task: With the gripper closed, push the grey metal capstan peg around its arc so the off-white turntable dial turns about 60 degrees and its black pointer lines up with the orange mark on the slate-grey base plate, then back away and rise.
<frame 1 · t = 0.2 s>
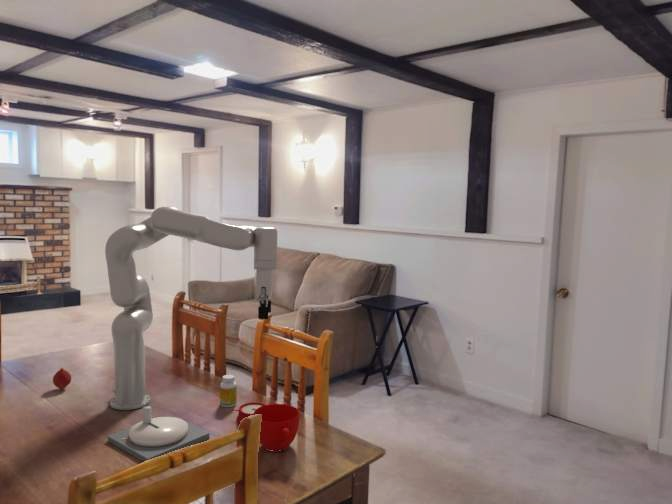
hand: (264, 315, 175), 31 cm above the table, tool pointing down, fingers open, 9 cm apart
base plate: (159, 439, 151), on the table
ceramic cup: (278, 450, 147), on the table
supplement bottle: (228, 405, 178), on the table
turntable: (159, 423, 151), point 5 cm above the table, hinge at 0.0°
alarm clock: (256, 422, 165), on the table
onion: (62, 389, 187), on the table
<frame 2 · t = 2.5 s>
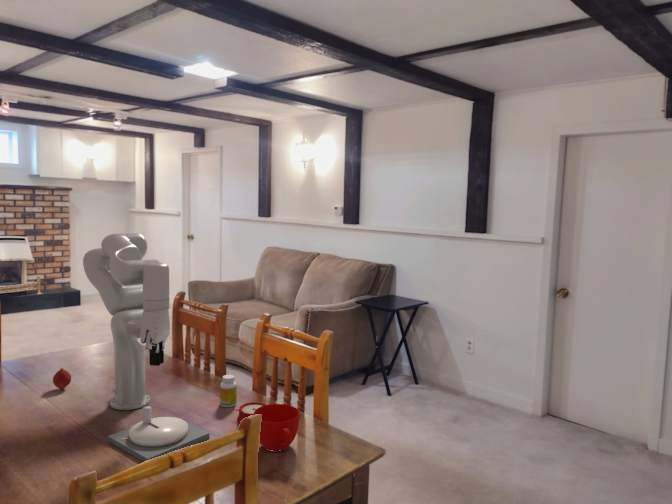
hand: (156, 363, 159), 19 cm above the table, tool pointing down, fingers closed
nothing on the table moved.
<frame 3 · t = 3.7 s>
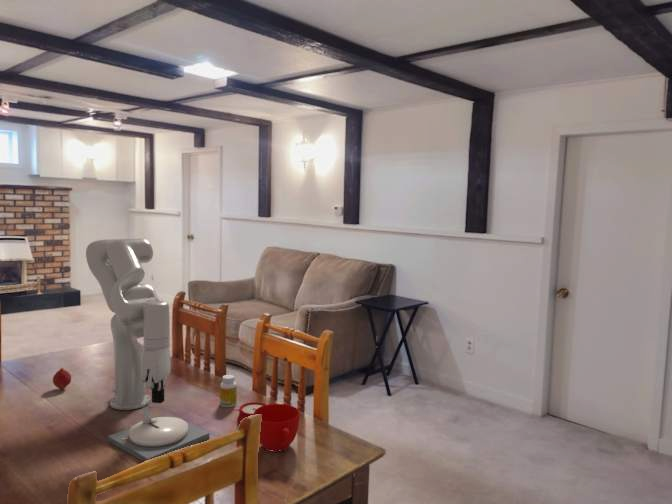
hand: (158, 401, 160), 7 cm above the table, tool pointing down, fingers closed
nothing on the table moved.
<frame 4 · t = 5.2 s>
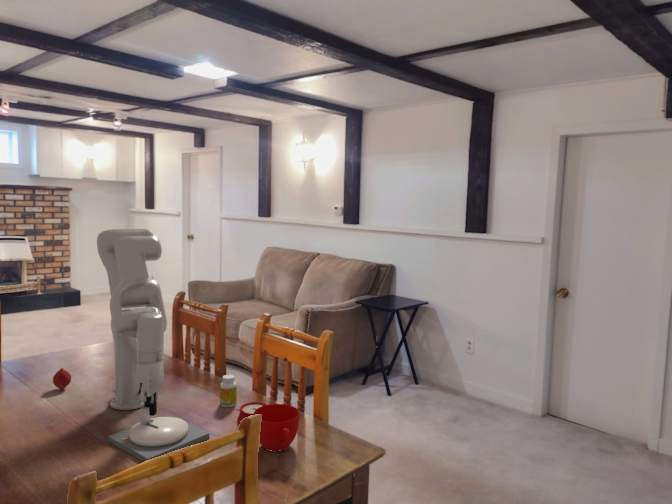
hand: (150, 414, 158), 5 cm above the table, tool pointing down, fingers closed
turntable: (159, 423, 151), point 5 cm above the table, hinge at 6.9°, touching gripper
everything else where it was.
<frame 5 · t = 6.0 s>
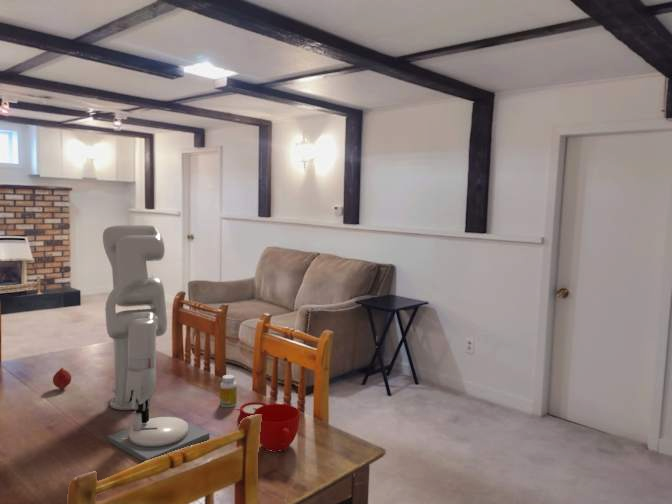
hand: (142, 421, 154), 4 cm above the table, tool pointing down, fingers closed
turntable: (159, 423, 151), point 5 cm above the table, hinge at 47.8°, touching gripper
everything else where it was.
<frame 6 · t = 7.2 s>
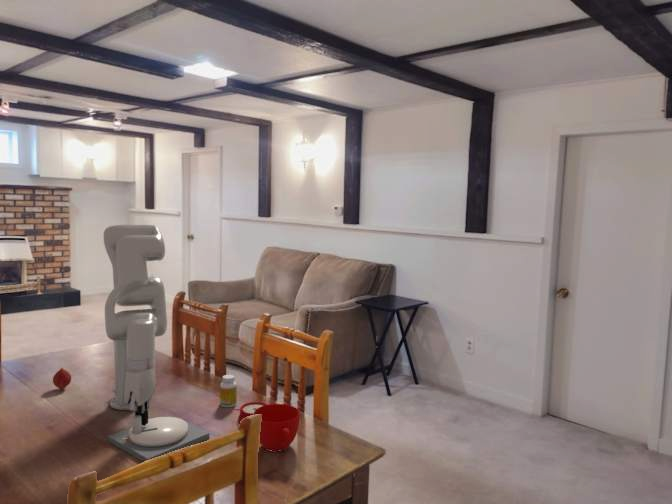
hand: (141, 423, 152), 4 cm above the table, tool pointing down, fingers closed
turntable: (159, 423, 151), point 5 cm above the table, hinge at 66.4°
everything else where it was.
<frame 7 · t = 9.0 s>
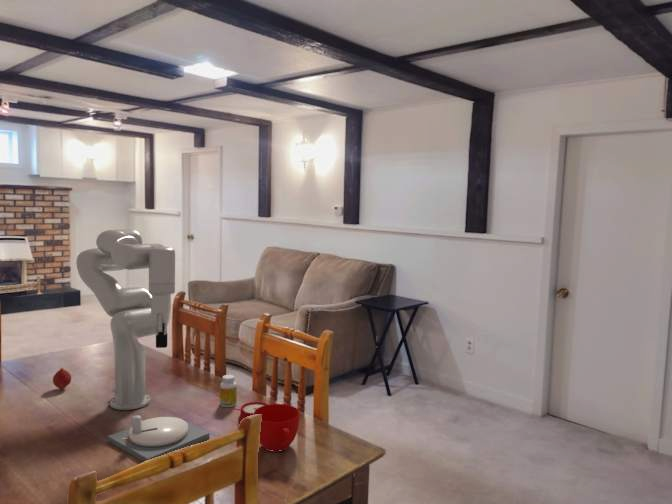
hand: (161, 346, 161), 24 cm above the table, tool pointing down, fingers closed
nothing on the table moved.
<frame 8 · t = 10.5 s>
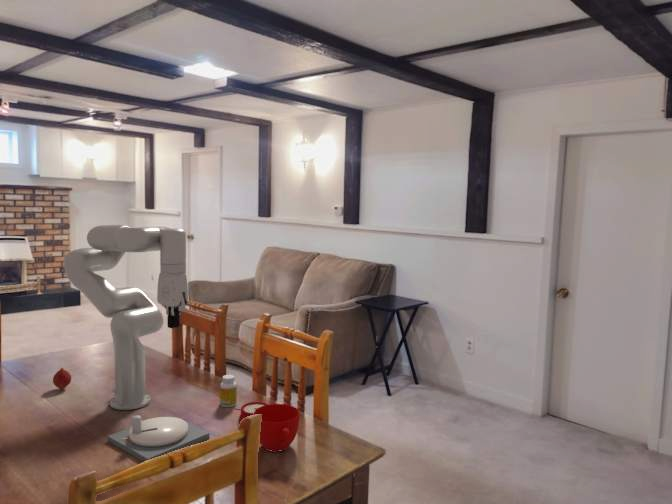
hand: (173, 327, 164), 29 cm above the table, tool pointing down, fingers closed
nothing on the table moved.
at the end: turntable at +66° (first picture: +0°) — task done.
